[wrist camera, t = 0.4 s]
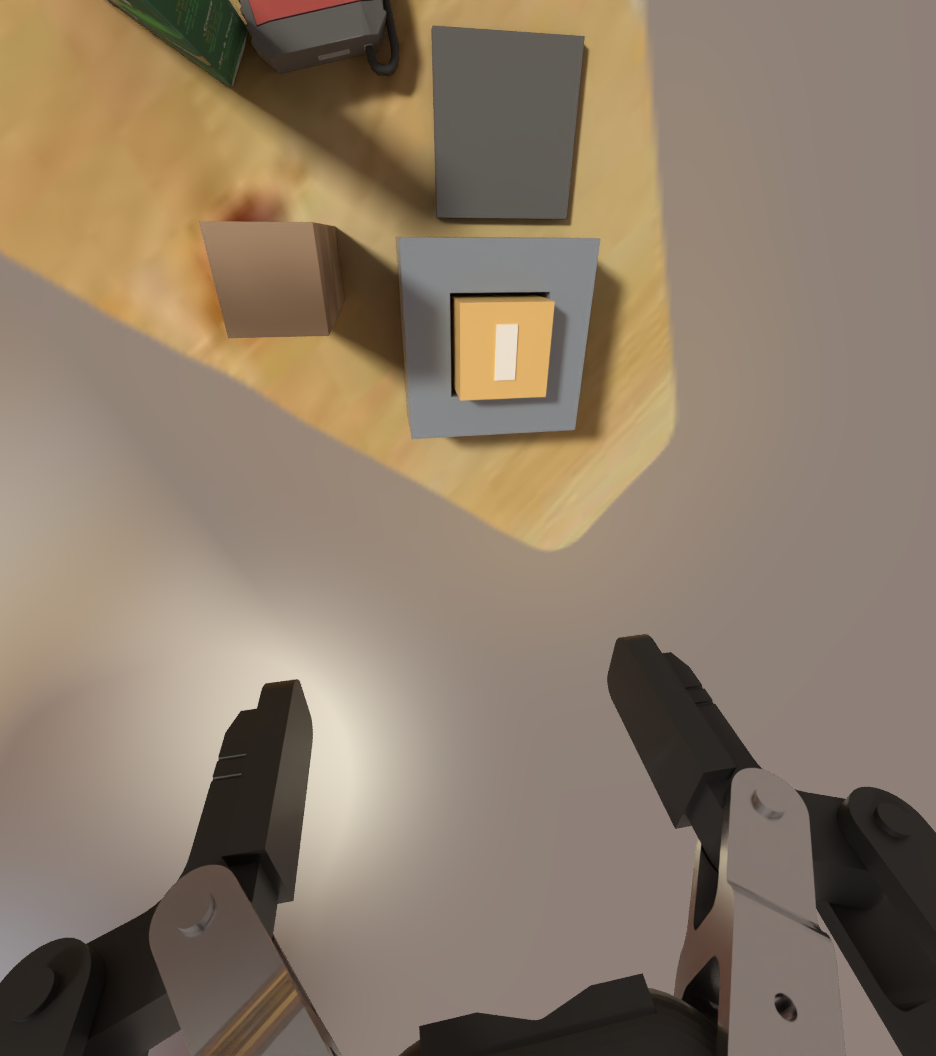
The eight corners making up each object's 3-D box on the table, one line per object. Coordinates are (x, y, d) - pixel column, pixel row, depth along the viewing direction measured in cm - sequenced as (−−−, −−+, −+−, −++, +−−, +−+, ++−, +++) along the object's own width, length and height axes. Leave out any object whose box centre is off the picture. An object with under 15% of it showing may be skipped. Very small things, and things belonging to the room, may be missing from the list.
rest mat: (431, 30, 24) (432, 25, 23) (580, 40, 25) (584, 36, 24) (436, 217, 28) (437, 217, 28) (563, 219, 29) (566, 218, 29)
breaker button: (450, 294, 28) (460, 303, 24) (534, 293, 29) (555, 301, 25) (451, 382, 31) (460, 401, 27) (527, 379, 31) (546, 397, 28)
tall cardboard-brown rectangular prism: (264, 226, 27) (198, 221, 17) (335, 226, 28) (312, 222, 18) (279, 302, 29) (228, 338, 19) (344, 301, 30) (328, 335, 20)
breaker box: (395, 237, 28) (399, 237, 24) (569, 238, 30) (600, 238, 26) (407, 413, 34) (411, 439, 30) (551, 407, 36) (574, 429, 32)
